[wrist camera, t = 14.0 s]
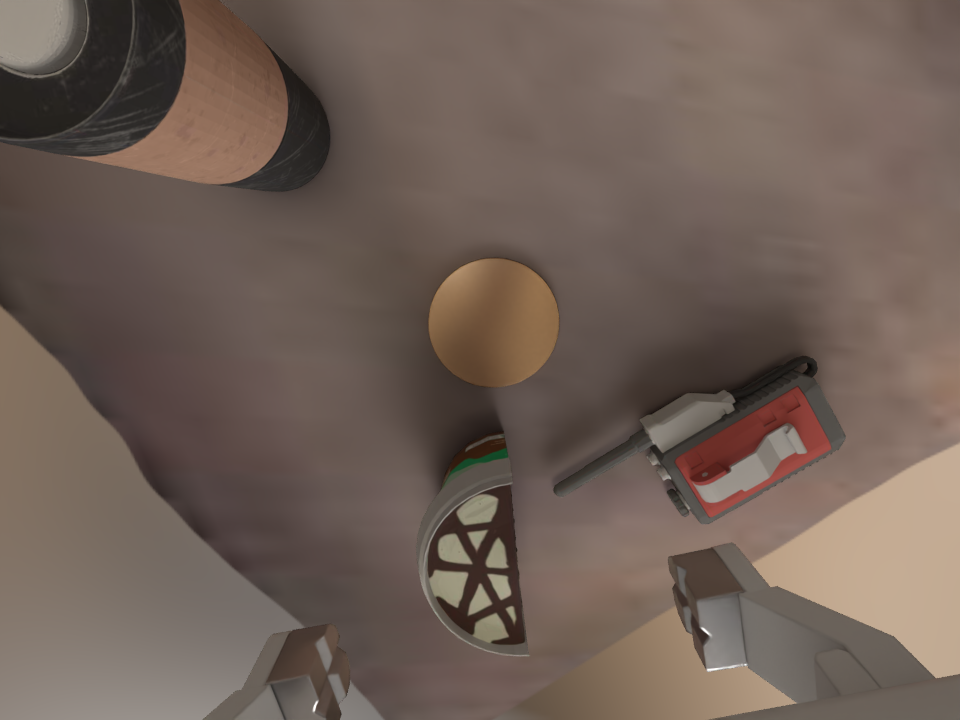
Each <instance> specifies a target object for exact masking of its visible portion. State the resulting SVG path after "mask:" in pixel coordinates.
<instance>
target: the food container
mask: <svg viewBox="0 0 960 720" xmlns="http://www.w3.org/2000/svg"><path fill="white" fill-rule="evenodd" d="M510 484H513V480H512V472H511V465H510V458H508V452H507V447H506V441H505V436H504V431H500V432H495V433H489V434H486V435H484V436H482V437H480V438H478V439H476V440H474V441H472V442H470V443H468V444H467V445H466V446H465V447H464V448H463V449H462V450H461V451H460V452H459V453H457V454H456V455H455V456H454V458H453V460H452V462H451V464H450V466H449V467H448V469H447V471H446V473H445V477H444V480H443V484H442V488H441V491H440V492H439V493H438V495H437V496H436V497H435V499H434V500H433V501H432V503H431V504H430V505H429V507H428V509H427V511H426V513H425V515H424V517H423V519H422V522H421V525H420V528H419V531H418V537H417V545H416V553H417V564H418V570H419V575H420V579H421V584H422V588H423V591H424V593H425V595H426V598H427V600H428V602H429V604H430V605H431V607H432V609H433V610H434V612H435V613H436V615H437V616H438V618H439V620H440V621H441V622H442V623H443V624H444V625H445V626H446V627H447V628H448V629H449V630H450V631H451V632H452V633H453V634H455V635H456V636H457V637H458V638H460V639H461V640H463V641H465V642H467V643H468V644H470V645H472V646H474V647H477V648H479V649H482V650H484V651H487V652H491V653H495V654H499V655H508V656H529V652H528V644H527V637H526V629H525V622H524V614H523V606H522V599H521V591H520V583H519V570H518V564H517V554H516V552H517V548H516V543H515V540H516V537H515V530H514V522H515V521H514V518H513V507H512V505H513V504H512V495H511V486H510Z"/></svg>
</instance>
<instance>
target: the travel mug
mask: <svg viewBox="0 0 960 720" xmlns="http://www.w3.org/2000/svg"><path fill="white" fill-rule="evenodd" d="M329 141H330V134H329V125H328V121H327V117H326V114H325V112H324V109H323V107H322V105H321V104H320V102H319V100H318V99H317V98H316V96H315V95H314V94H313V92H312V91H311V90H310V89H309V88H308V87H307V86H306V85H305V83H304V82H303V81H302V80H301V79H300V78H299V77H298V76H297V75H296V74H295V73H294V72H293V71H292V70H291V69H290V68H289V67H288V66H287V65H286V64H285V63H284V62H283V61H282V60H281V59H280V58H279V57H278V56H277V55H276V54H275V53H274V51H273V50H272V49H271V48H270V47H269V46H268V45H267V44H266V43H265V42H264V41H263V40H262V39H261V38H260V37H259V36H258V35H257V34H256V33H255V32H254V31H253V30H251V29H250V28H249V27H248V26H247V25H246V24H245V23H244V22H242V21H241V20H240V19H239V18H238V17H237V16H236V15H234V14H233V13H232V12H231V11H230V10H229V9H228V8H227V7H225V6H224V5H223V4H222V3H221V2H220V1H219V0H0V142H3V143H6V144H11V145H16V146H21V147H26V148H31V149H35V150H40V151H45V152H50V153H55V154H61V155H65V156H70V157H75V158H80V159H85V160H90V161H95V162H100V163H105V164H110V165H115V166H120V167H125V168H130V169H134V170H139V171H144V172H149V173H154V174H159V175H164V176H169V177H174V178H179V179H184V180H189V181H194V182H199V183H205V184H212V185H220V186H228V187H237V188H245V189H254V190H262V191H278V192H279V191H289V190H292V189H296V188H298V187H301V186H302V185H304V184H306V183H307V182H309V181H310V180H311V179H312V178H313V177H314V176H315V175H316V174H317V173H318V172H319V170H320V169H321V167H322V166H323V164H324V162H325V159H326V156H327V154H328V149H329Z"/></svg>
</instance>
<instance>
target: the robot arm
mask: <svg viewBox="0 0 960 720" xmlns="http://www.w3.org/2000/svg"><path fill="white" fill-rule="evenodd" d="M668 564H669V571H670V573H671V575H672V577H673V579H674V581H675V584H674V586H673V588H672V589H673V594H674V600H675V603H676V607H677V610H678V614H679V616H680V618H681V621H682V623H683V625H684V627H685V629H686V631H687V632H688V633H690V634H692V635H693V641H694V646H695V649H696V651H697V653H698V655H699V657H700V659H701V661H702V663H703V664H704V666H705V668H706V670H707V672H710V671H716V670H722V669H729V668H736V667H742V666H748V668H749V669H751V670H752V671H753V672H755V673H756V674H757V675H759V676H760V677H762V678H763V679H764V680H766V681H767V682H769V683H770V684H771V685H773V686H774V687H776V688H777V689H778V690H780V691H781V692H782V693H784V694H785V695H787V696H788V697H790V698H791V699H792V700H794V701H795V702H797V703H798V704H792V705H786V706H781V707H775V708H770V709H764V710H759V711H754V712H748V713H742V714H737V715H731V716H726V717H721V718H715V719H710V720H960V674H958V675H953V676H947V677H942V678H935V677H934V676H933V675H932V674H931V673H930V672H929V671H928V670H927V669H926V668H925V667H924V666H923V665H922V664H921V663H920V662H919V661H918V660H917V659H916V658H915V657H914V656H913V655H912V654H911V653H910V652H909V651H908V650H907V649H906V648H905V647H904V646H903V645H902V644H901V643H900V642H899V641H898V640H897V639H896V638H895V637H894V636H891V635H889V634H887V633H884V632H882V631H880V630H877V629H875V628H873V627H871V626H868V625H866V624H863V623H861V622H859V621H856V620H854V619H852V618H849V617H847V616H845V615H843V614H840V613H838V612H835V611H833V610H831V609H829V608H826V607H824V606H822V605H819V604H817V603H815V602H812V601H810V600H807V599H805V598H803V597H801V596H798V595H796V594H794V593H791V592H789V591H787V590H784V589H782V588H780V587H778V586H776V587H770V586H769V585H768V584H767V582H766V581H765V580H764V579H763V578H762V576H761V575H760V574H759V573H758V571H757V570H756V569H755V568H754V567H753V565H752V564H751V563H750V562H749V560H748V559H747V558H746V557H745V555H744V554H743V553H742V552H741V551H740V549H739V548H738V547H737V546H736V544H734V543H728V544H723V545H719V546H714V547H711V548H709V549H704V550H699V551H694V552H689V553H684V554H679V555H674V556H670V557H668ZM339 638H340V635H339V633H338V630H337V628H336V626H335V625H333V624H325V625H319V626H314V627H308V628H302V629H296V630H293V631H287V632H281V633H276V634H273V635H272V636H270V637H269V639H268V640H267V642H266V644H265V646H264V648H263V650H262V652H261V654H260V656H259V657H258V660H257V661H256V663H255V665H254V667H253V669H252V671H251V673H250V675H249V677H248V679H247V681H246V683H245V685H244V687H243V688H242V690H238V691H235V692H234V693H233V694H232V695H231V696H229V697H228V698H227V699H226V700H225V701H224V702H222V703H221V704H220V705H219V706H218V707H217V708H216V709H214V710H213V711H212V712H211V713H210V714H209V715H207V716H206V717H205V718H204V719H203V720H340V717H341V711H340V708H339V704H340V703H341V701H343V699H344V698H345V697H346V696H347V693H348V689H349V685H350V667H349V661H348V658H347V655H346V652H345V651H344V650H342V649H341V648H339V647H338V646H337V644H338V641H339Z"/></svg>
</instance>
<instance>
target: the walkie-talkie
mask: <svg viewBox="0 0 960 720" xmlns="http://www.w3.org/2000/svg"><path fill="white" fill-rule="evenodd" d="M804 363H807V366H808V367H807V369H806V371H805V372H803V373H800V372H798V371H795V370H793V369H794V368H796V367H797V366H799V365H801V364H804ZM817 369H818V368H817V362H816V361H815V360H814V359H813V358H810V357H807V356H801V357H797V358H794V359H792V360H791V361H789V362H787V363H786V364H784V365H782V366H781V367H777V368H776V369H775V370H772V371H771V372H770V373H768V374H765V375H764V376H763V377H761V378H758V379H757V380H756V381H755V382H752V383H750V385H748V386H745V387H743V389H741V390H733V391H730V392H727V391H725V390H723V391H721V392H719V393H718V394H701V393H686V394H685V395H683V396H681V397H680V398H678V399H676V400H675V401H673V402H672V403H670V404H668V405H667V406H665V407H663V408H662V409H660V410H658V411H657V412H655V413H653V414H652V415H646V416H645V417H643V418H641V419H640V422H641V424H642V425H643V427H644V429H642V430H640V431H639V432H637V433H636V434H634V435H632V436H631V437H630V440H628V441H626V442H625V443H623V444H621V445H620V446H618V447H616V448H615V449H613V450H611V451H610V452H608V453H606V454H605V455H603V456H601V457H600V458H598V459H596V460H595V461H593V462H591V463H590V464H588V465H586V466H585V467H584V468H583V469H581V470H579V471H578V472H576V473H575V474H573V475H571V476H570V477H568V478H566V479H565V480H563V481H561V482H560V483H558V484H557V485H555V487H554V493H555V494H556V495H557V496H559V497H564V496H565V495H567V494H569V493H570V492H572V491H574V490H575V489H577V488H579V487H580V486H582V485H584V484H585V483H587V482H589V481H590V480H592V479H594V478H595V477H597V476H599V475H600V474H602V473H604V472H605V471H607V470H609V469H610V468H612V467H614V466H615V465H617V464H619V463H621V462H622V461H624V460H626V459H627V458H629V457H631V456H632V455H634V454H636V453H637V452H640V453H641V452H642V451H644V450H646V449H647V448H649V447H650V446H651V447H650V448H651V451H650V452H651V453H650V454H649V455H647V458H648V459H649V461H650V462H651V464H652V465H655V464H657V463H658V464H659V465H660V464H661V465H660V466H661V468H660V469H658V470H657V472H658V474H659V475H660V477H661V478H662V479H663V480H665V479H667V478H669V479H670V480H671V481H672V483H673V485H674V486H675V488H676V489H677V491H675V490H673V489H670V490H668V491H667V494H668V496H669V497H670V499H671V501H672V502H673V504H674V505H675V506H676V508H677V509H678V511H679V512H680V514H681V515H682V516H684V517H686V516H688V515H689V511H688V510H689V509H690V511H691V512H692V513H693V514H694V516H695V517H696V518H697V519H698V521H699V522H700V523H701V524H710V523H711V522H713V521H715V520H717V519H718V518H720V517H722V516H724V515H725V514H727V513H729V512H731V511H732V510H734V509H736V508H738V507H739V506H741V505H743V504H745V503H746V502H748V501H750V500H752V499H753V498H755V497H757V496H759V495H760V494H762V493H763V492H764V491H766V490H769V489H770V488H771V487H773V486H776V485H777V484H778V483H780V482H783V481H784V480H785V479H787V478H790V477H791V476H792V475H794V474H797V473H798V472H799V471H801V470H804V469H805V468H806V467H808V466H811V465H812V464H813V463H815V462H818V461H819V460H820V459H822V458H825V457H826V456H827V455H829V454H832V453H833V452H834V451H836V450H839V448H840V447H841V445H842V444H843V442H844V440H845V438H846V436H845V434H844V432H843V430H842V428H841V426H840V424H839V422H838V420H837V418H836V416H835V415H834V413H833V411H832V409H831V407H830V405H829V403H828V401H827V399H826V398H825V396H824V394H823V392H822V390H821V388H820V386H819V385H818V383H817V382H816V381H815V380H814V378H812V377H813V376H814V375H815V374H816V372H817Z"/></svg>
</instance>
